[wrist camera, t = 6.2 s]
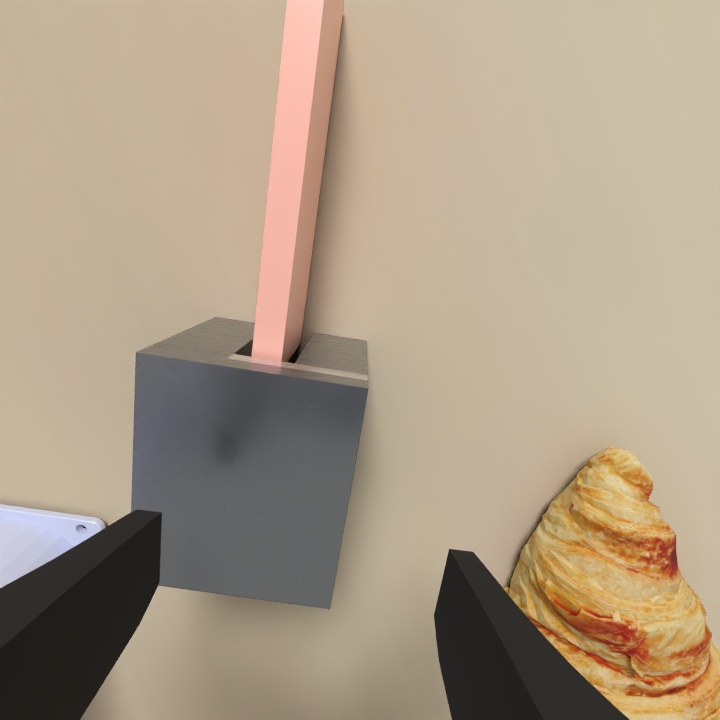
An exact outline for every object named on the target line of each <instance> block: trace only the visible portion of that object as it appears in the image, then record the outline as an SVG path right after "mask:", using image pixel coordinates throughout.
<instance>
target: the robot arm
mask: <svg viewBox="0 0 720 720" xmlns="http://www.w3.org/2000/svg"><path fill="white" fill-rule="evenodd" d="M82 525H84V526H85V527H86V529H85V528H83V527H82ZM161 526H162V512H155V511H147V510H139V509H137V510H135V511H133V512H131V513H130V514H128V515H126V516H124V517H123V518H121V519H119V520H118V521H116V522H114V523H113V524H111V525H109V526H108V527H106V526H105V524H104V522H103V521H102V520H101V519H98V518H94V517H87V516H80V515H73V514H66V513H59V512H52V511H45V510H38V509H31V508H24V507H17V506H10V505H3V504H0V720H80V719H81V717H82V716H83V714H84V712H85V711H86V709H87V708H88V706H89V704H90V703H91V701H92V700H93V698H94V696H95V695H96V693H97V692H98V690H99V688H100V687H101V685H102V684H103V682H104V680H105V679H106V677H107V676H108V674H109V673H110V671H111V669H112V668H113V666H114V665H115V663H116V661H117V660H118V658H119V657H120V655H121V653H122V652H123V650H124V648H125V647H126V645H127V644H128V642H129V640H130V639H131V637H132V636H133V634H134V632H135V631H136V629H137V627H138V626H139V624H140V622H141V620H142V618H143V616H144V614H145V612H146V610H147V608H148V606H149V604H150V601H151V599H152V597H153V595H154V593H155V591H156V589H157V586H158V584H159V582H160V556H161ZM434 619H435V629H436V639H437V647H438V655H439V662H440V667H441V672H442V676H443V681H444V685H445V690H446V694H447V699H448V703H449V708H450V712H451V717H452V720H630V719H629V718H628V717H626V716H625V715H624V714H623V713H622V712H621V711H620V710H618V709H617V708H616V707H615V706H614V705H613V704H612V703H611V702H610V701H609V700H608V699H607V698H606V697H604V696H603V695H602V694H601V693H600V692H599V691H598V690H597V689H596V688H595V687H594V686H593V685H592V684H591V683H590V682H588V681H587V680H586V679H585V678H584V677H583V676H582V675H581V674H580V673H579V672H578V671H577V670H576V669H575V668H574V667H573V666H572V665H571V664H570V663H569V662H568V661H567V660H566V659H565V657H564V656H563V655H562V654H561V653H560V652H559V651H558V650H557V649H556V648H555V647H554V646H553V645H552V644H551V643H550V642H549V641H548V640H547V638H546V637H545V636H544V635H543V634H542V633H541V632H540V631H539V630H538V629H537V627H536V626H535V625H534V624H533V623H532V622H531V621H530V620H529V618H528V617H527V616H526V615H525V614H524V613H523V611H522V610H521V609H520V608H519V607H518V606H517V604H516V603H515V602H514V601H513V600H512V598H511V597H510V596H509V595H508V594H507V592H506V591H505V590H504V589H503V588H502V586H501V585H500V584H499V583H498V582H497V580H496V579H495V578H494V577H493V575H492V574H491V573H490V572H489V570H488V569H487V568H486V567H485V566H484V564H483V563H482V562H481V561H480V560H479V558H478V557H477V556H476V555H475V554H474V552H469V551H461V550H453V549H449V553H448V557H447V561H446V566H445V570H444V574H443V579H442V583H441V587H440V592H439V596H438V601H437V605H436V609H435V614H434Z"/></svg>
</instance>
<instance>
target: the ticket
mask: <svg viewBox="0 0 720 720" xmlns="http://www.w3.org/2000/svg"><path fill="white" fill-rule="evenodd" d="M343 9H344V0H287V6H286V16H285V26H284V36H283V46H282V56H281V66H280V76H279V86H278V96H277V106H276V116H275V126H274V136H273V147H272V157H271V167H270V177H269V187H268V197H267V207H266V217H265V227H264V237H263V247H262V257H261V267H260V277H259V287H258V297H257V307H256V317H255V327H254V337H253V347H252V357H256V358H262V359H269V360H275V361H282V362H288V361H289V359H290V358H291V356H292V355H293V353H294V352H295V350H296V349H297V347H298V346H299V345H300V343H301V336H302V328H303V320H304V313H305V305H306V297H307V289H308V281H309V274H310V266H311V258H312V250H313V242H314V235H315V227H316V219H317V211H318V203H319V196H320V188H321V180H322V172H323V165H324V157H325V149H326V141H327V133H328V126H329V118H330V110H331V102H332V94H333V87H334V79H335V71H336V63H337V55H338V48H339V40H340V32H341V24H342V17H343Z"/></svg>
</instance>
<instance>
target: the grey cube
mask: <svg viewBox="0 0 720 720" xmlns="http://www.w3.org/2000/svg"><path fill="white" fill-rule="evenodd" d="M254 327H255V323H249V322H243V321H237V320H230V319H224V318H218V317H215V318H213V319H211V320H208V321H206V322H204V323H201V324H199V325H197V326H195V327H192V328H190V329H188V330H186V331H183V332H181V333H179V334H176V335H174V336H172V337H170V338H167V339H165V340H163V341H161V342H158V343H156V344H154V345H151V346H149V347H147V348H145V349H142V350H140V351H138V352H136V367H135V402H134V436H133V471H132V505H131V512H133V511H135V510H137V509H139V510H147V511H155V512H162V526H161V556H160V582H159V584H158V585H159V586H166V587H173V588H180V589H188V590H195V591H202V592H210V593H217V594H224V595H231V596H239V597H246V598H253V599H260V600H268V601H275V602H282V603H289V604H297V605H304V606H311V607H318V608H326V609H330V606H331V600H332V594H333V588H334V583H335V577H336V571H337V565H338V560H339V554H340V548H341V542H342V537H343V531H344V525H345V519H346V514H347V508H348V502H349V496H350V491H351V485H352V479H353V473H354V468H355V462H356V456H357V450H358V445H359V439H360V433H361V427H362V422H363V416H364V410H365V404H366V399H367V393H368V368H367V341H362V340H356V339H350V338H344V337H337V336H331V335H325V334H318V333H313V335H312V336H311V338H310V340H309V341H308V343H307V344H306V346H305V348H304V349H303V351H302V353H301V354H300V356H299V358H298V359H297V361H296V362H295V364H294V363H288V362H282V361H275V360H269V359H262V358H256V357H252V347H253V337H254Z"/></svg>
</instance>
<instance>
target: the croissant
mask: <svg viewBox="0 0 720 720" xmlns="http://www.w3.org/2000/svg"><path fill="white" fill-rule="evenodd" d="M652 482H653V476H652V475H651V474H649V473H648V472H647V471H646V469H645V468H644V467H643V466H642V465H641V464H640V462H639V460H638V459H637V457H636V455H635V454H634V453H632V452H631V451H629V450H627V451H626V450H623V449H620V448H619V449H616V448H615V447H614V446H610V447H608V448H607V449H605V450H603V451H601V452H599V453H598V454H596V455H595V456H593V457H592V458H590V459H589V460H588V462H587V465H586V466H585V467H584V468H583V469H581V470H580V471H579V472H578V473H577V477H576V478H575V479H574V480H573V481H572V482H571V483H570V484H569V485H568V486H567V487H566V488H565V489H564V490H563V491H562V492H561V493H560V494H559V495H558V496H557V497H556V498H555V499H554V500H553V501H552V502H551V504H550V506H549V508H548V510H547V511H546V513H545V514H543V515H542V521H541V522H540V524H539V525H538V527H537V528H536V530H535V531H534V533H533V534H532V535H531V537H530V538H529V540H528V542H527V544H526V545H524V547H523V549H522V551H521V554H520V559H519V561H518V564H517V566H516V568H515V570H514V573H513V576H512V578H511V582H510V588H509V587H504V588H503V589H504V590H505V591H506V592H507V594H508V595H509V596H510V597H511V598H512V600H513V601H514V602H515V603H516V604H517V606H518V607H519V608H520V609H521V610H522V611H523V613H524V614H525V615H526V616H527V617H528V618H529V620H530V621H531V622H532V623H533V624H534V625H535V626H536V627H537V629H538V630H539V631H540V632H541V633H542V634H543V635H544V636H545V637H546V638H547V640H548V641H549V642H550V643H551V644H552V645H553V646H554V647H555V648H556V649H557V650H558V651H559V652H560V653H561V654H562V655H563V656H564V657H565V659H566V660H567V661H568V662H569V663H570V664H571V665H572V666H573V667H574V668H575V669H576V670H577V671H578V672H579V673H580V674H581V675H582V676H583V677H584V678H585V679H586V680H587V681H588V682H590V683H591V684H592V685H593V686H594V687H595V688H596V689H597V690H598V691H599V692H600V693H601V694H602V695H603V696H604V697H606V698H607V699H608V700H609V701H610V702H611V703H612V704H613V705H614V706H615V707H616V708H617V709H618V710H620V711H621V712H622V713H623V714H624V715H625V716H626V717H628V718H629V719H630V720H720V650H719V649H718V647H717V646H716V645H715V643H714V642H713V640H712V639H711V637H712V632H710V630H709V628H708V627H707V625H706V619H705V617H706V611H705V609H704V606H703V604H702V603H701V601H700V599H699V597H698V596H697V595H696V594H695V593H694V591H693V589H692V588H691V587H690V586H689V585H687V583H686V582H685V580H684V578H683V577H682V576H681V572H680V570H679V569H678V564H677V555H676V535H675V533H674V532H673V530H672V529H671V527H670V526H669V525H668V524H667V523H666V522H665V521H663V518H662V515H661V513H660V510H659V507H657V506H655V505H654V504H652V503H650V502H649V501H648V499H649V496H650V494H651V492H652V490H653V483H652Z"/></svg>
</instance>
